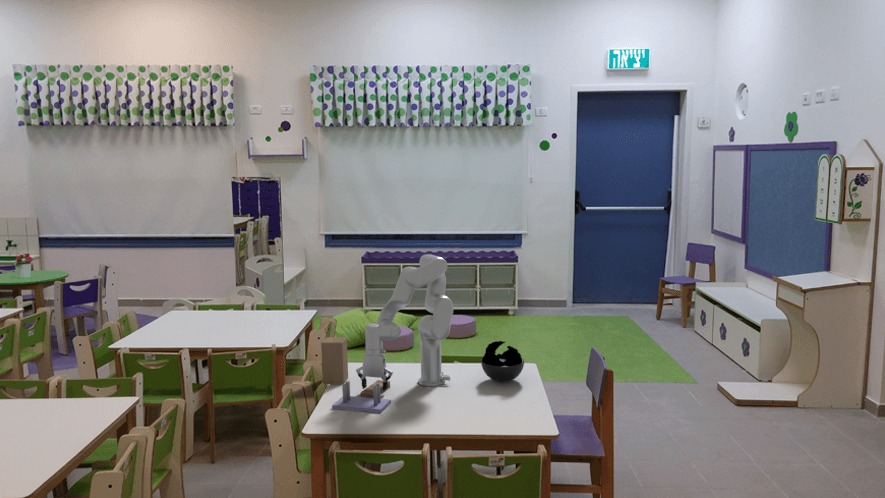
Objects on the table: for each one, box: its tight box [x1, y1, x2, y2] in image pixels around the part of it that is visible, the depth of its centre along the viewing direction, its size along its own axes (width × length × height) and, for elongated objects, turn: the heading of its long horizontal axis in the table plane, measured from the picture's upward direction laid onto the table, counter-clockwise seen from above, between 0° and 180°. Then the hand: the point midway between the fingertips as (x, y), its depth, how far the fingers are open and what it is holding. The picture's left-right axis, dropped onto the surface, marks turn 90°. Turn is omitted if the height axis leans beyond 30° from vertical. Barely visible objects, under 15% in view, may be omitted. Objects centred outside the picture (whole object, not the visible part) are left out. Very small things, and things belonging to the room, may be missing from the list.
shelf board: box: [359, 379, 391, 398], centre depth 309 cm, size 18×6×4 cm, turn 160°
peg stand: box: [331, 380, 392, 414], centre depth 294 cm, size 22×12×10 cm, turn 74°
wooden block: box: [320, 336, 349, 385], centre depth 327 cm, size 10×10×20 cm
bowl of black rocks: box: [480, 340, 525, 383], centre depth 322 cm, size 20×20×19 cm
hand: (374, 388), depth 309 cm, fingers open, 9 cm apart
